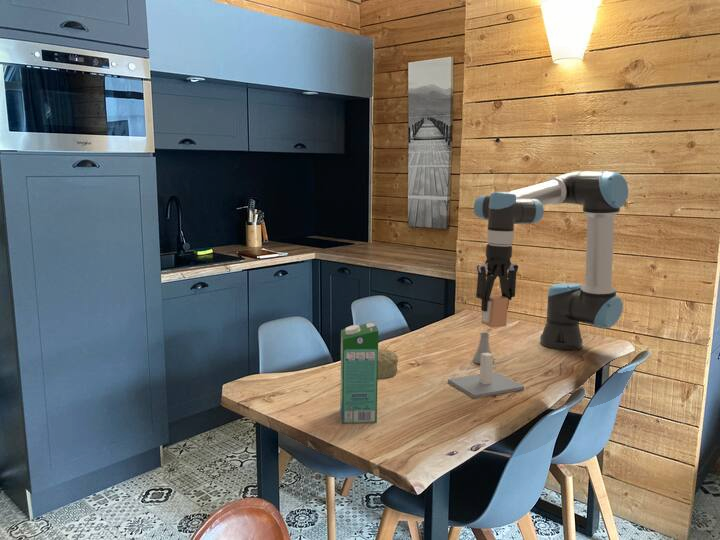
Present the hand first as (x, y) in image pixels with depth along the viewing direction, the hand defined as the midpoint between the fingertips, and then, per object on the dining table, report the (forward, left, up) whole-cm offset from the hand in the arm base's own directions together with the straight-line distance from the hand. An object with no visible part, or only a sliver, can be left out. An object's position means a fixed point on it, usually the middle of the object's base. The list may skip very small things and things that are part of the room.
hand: (493, 320), depth 184 cm
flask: (-11, -18, -20) cm, 29 cm away
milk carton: (+47, +6, -20) cm, 52 cm away
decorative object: (+26, -21, -20) cm, 40 cm away
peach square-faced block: (0, 0, -1) cm, 1 cm away
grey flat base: (+2, +1, -20) cm, 20 cm away
